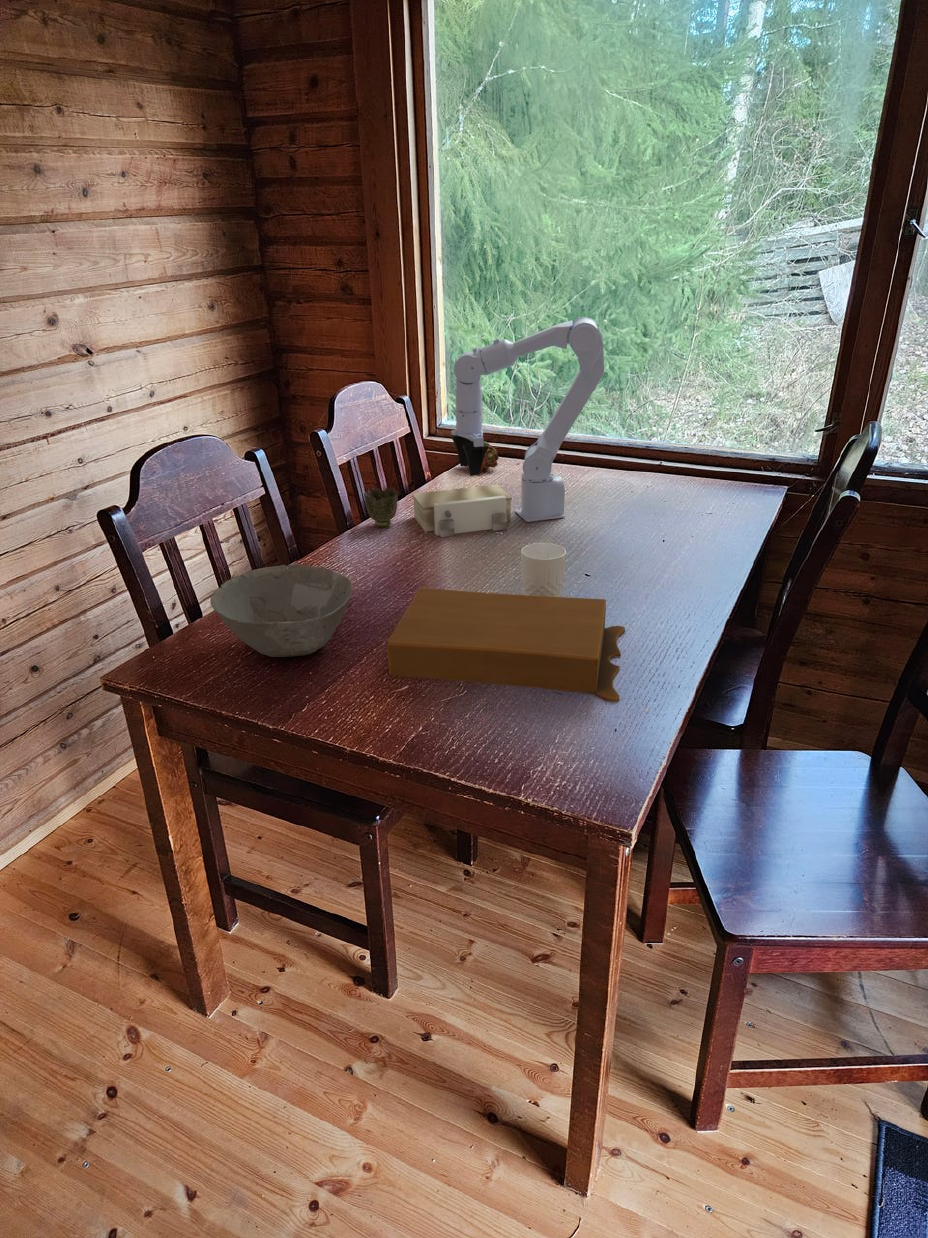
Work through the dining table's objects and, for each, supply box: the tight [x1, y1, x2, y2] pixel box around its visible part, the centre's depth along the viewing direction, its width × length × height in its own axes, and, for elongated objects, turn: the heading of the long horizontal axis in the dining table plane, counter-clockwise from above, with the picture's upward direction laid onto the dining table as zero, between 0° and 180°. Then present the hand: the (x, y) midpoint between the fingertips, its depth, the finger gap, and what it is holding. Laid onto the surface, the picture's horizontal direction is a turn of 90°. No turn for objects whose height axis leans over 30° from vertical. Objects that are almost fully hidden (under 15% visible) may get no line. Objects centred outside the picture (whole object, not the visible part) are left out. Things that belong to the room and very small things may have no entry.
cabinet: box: [411, 484, 513, 538], centre depth 188 cm, size 20×15×6 cm
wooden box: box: [386, 587, 626, 703], centre depth 133 cm, size 23×6×35 cm
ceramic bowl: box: [210, 563, 354, 658], centre depth 136 cm, size 22×23×10 cm
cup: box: [363, 487, 399, 529], centre depth 186 cm, size 8×7×8 cm
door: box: [434, 495, 506, 536], centre depth 183 cm, size 16×3×7 cm, turn 106°
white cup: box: [520, 542, 567, 597], centre depth 149 cm, size 8×8×10 cm
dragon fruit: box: [464, 440, 500, 473], centre depth 224 cm, size 8×8×12 cm
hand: (469, 470), depth 189 cm, fingers open, 7 cm apart
